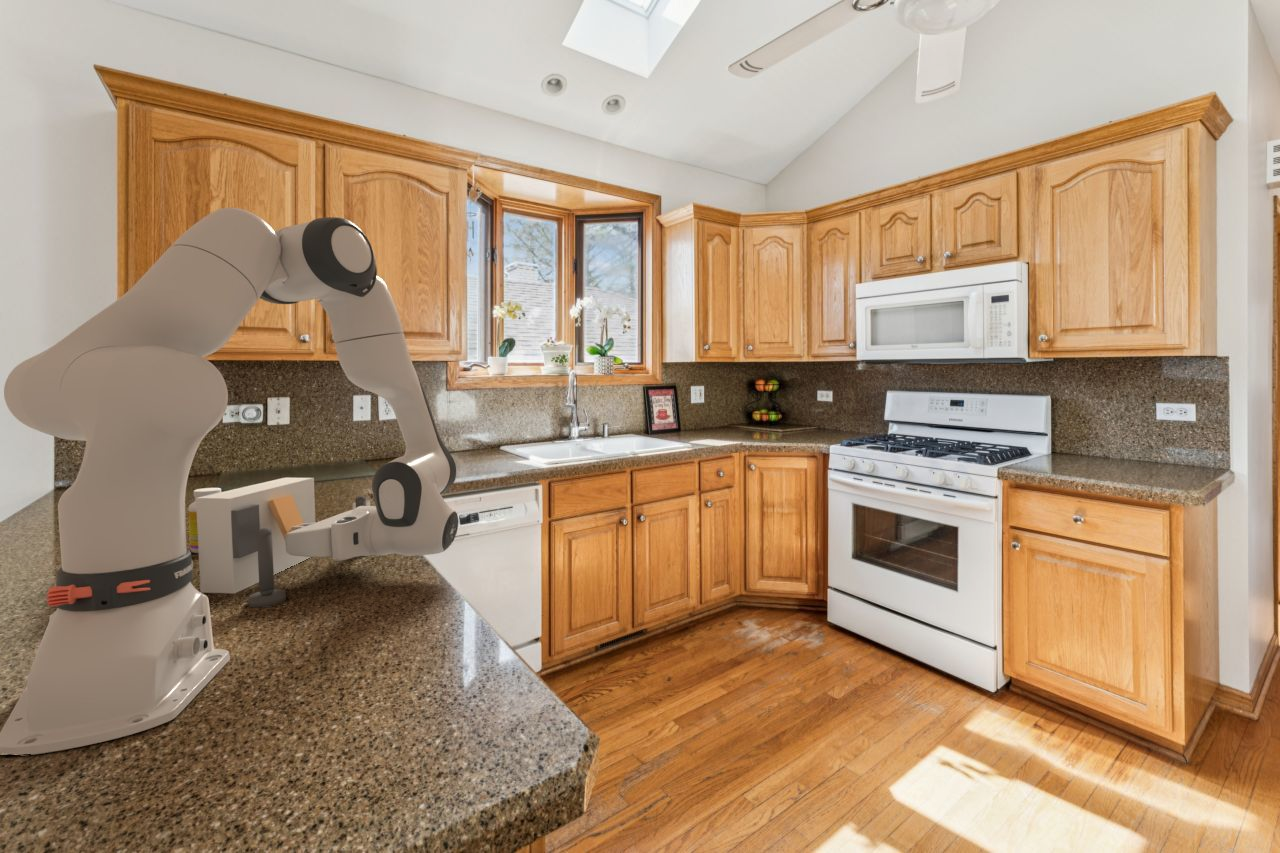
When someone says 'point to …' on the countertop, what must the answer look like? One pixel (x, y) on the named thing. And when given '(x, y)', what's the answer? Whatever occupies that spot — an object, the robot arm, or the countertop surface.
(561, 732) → the countertop surface
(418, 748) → the countertop surface
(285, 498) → the orange paddle
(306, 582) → the countertop surface
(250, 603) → the post
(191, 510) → the supplement bottle
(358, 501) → the post
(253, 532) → the black paddle
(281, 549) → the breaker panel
